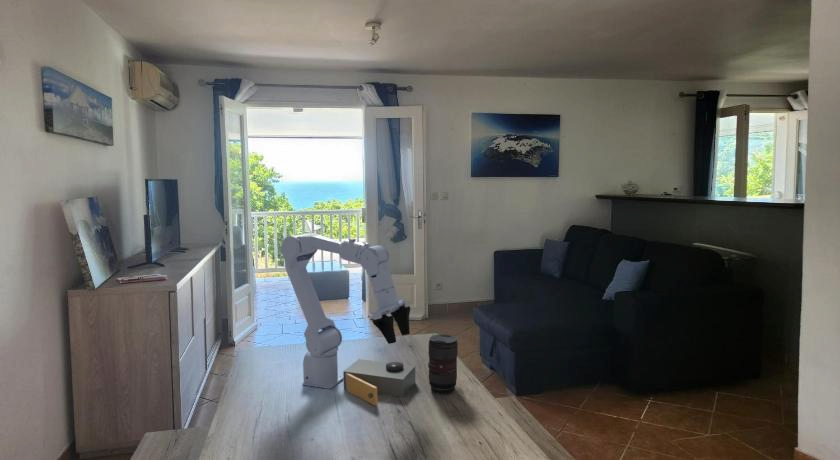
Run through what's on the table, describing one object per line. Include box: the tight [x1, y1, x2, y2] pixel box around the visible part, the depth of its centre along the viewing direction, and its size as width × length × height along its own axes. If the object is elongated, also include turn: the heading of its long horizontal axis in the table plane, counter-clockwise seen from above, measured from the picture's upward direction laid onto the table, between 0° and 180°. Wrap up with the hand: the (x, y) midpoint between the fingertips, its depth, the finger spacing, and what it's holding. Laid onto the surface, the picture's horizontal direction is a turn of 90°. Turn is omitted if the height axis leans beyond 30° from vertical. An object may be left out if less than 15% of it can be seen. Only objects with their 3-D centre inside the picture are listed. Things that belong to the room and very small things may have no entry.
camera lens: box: [427, 333, 459, 395], centre depth 146 cm, size 8×8×15 cm
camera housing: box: [342, 358, 416, 398], centre depth 149 cm, size 18×10×6 cm, turn 71°
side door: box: [345, 373, 378, 406], centre depth 141 cm, size 13×1×5 cm, turn 43°
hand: (399, 338), depth 138 cm, fingers open, 7 cm apart
